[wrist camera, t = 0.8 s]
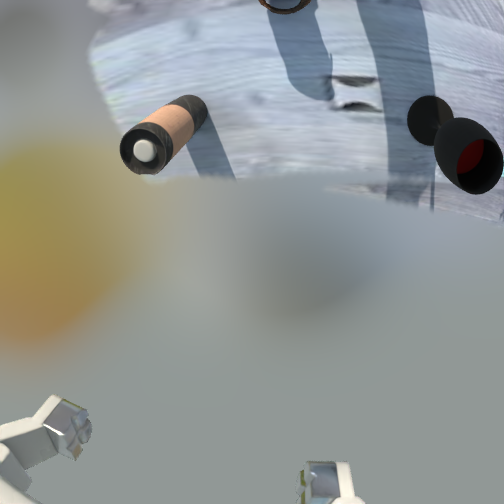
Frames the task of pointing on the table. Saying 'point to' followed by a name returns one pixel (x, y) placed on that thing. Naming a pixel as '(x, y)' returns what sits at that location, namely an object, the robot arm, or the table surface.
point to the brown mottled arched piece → (304, 1)
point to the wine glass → (457, 145)
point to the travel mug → (162, 135)
